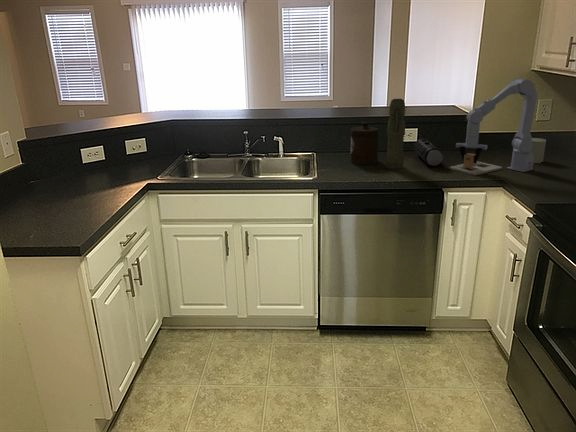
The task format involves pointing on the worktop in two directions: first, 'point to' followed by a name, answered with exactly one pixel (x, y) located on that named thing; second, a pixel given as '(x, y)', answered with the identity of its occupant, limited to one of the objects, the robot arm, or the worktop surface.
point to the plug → (469, 160)
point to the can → (538, 149)
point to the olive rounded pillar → (396, 135)
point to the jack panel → (476, 168)
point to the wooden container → (364, 144)
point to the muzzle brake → (428, 152)
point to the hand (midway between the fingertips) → (469, 162)
